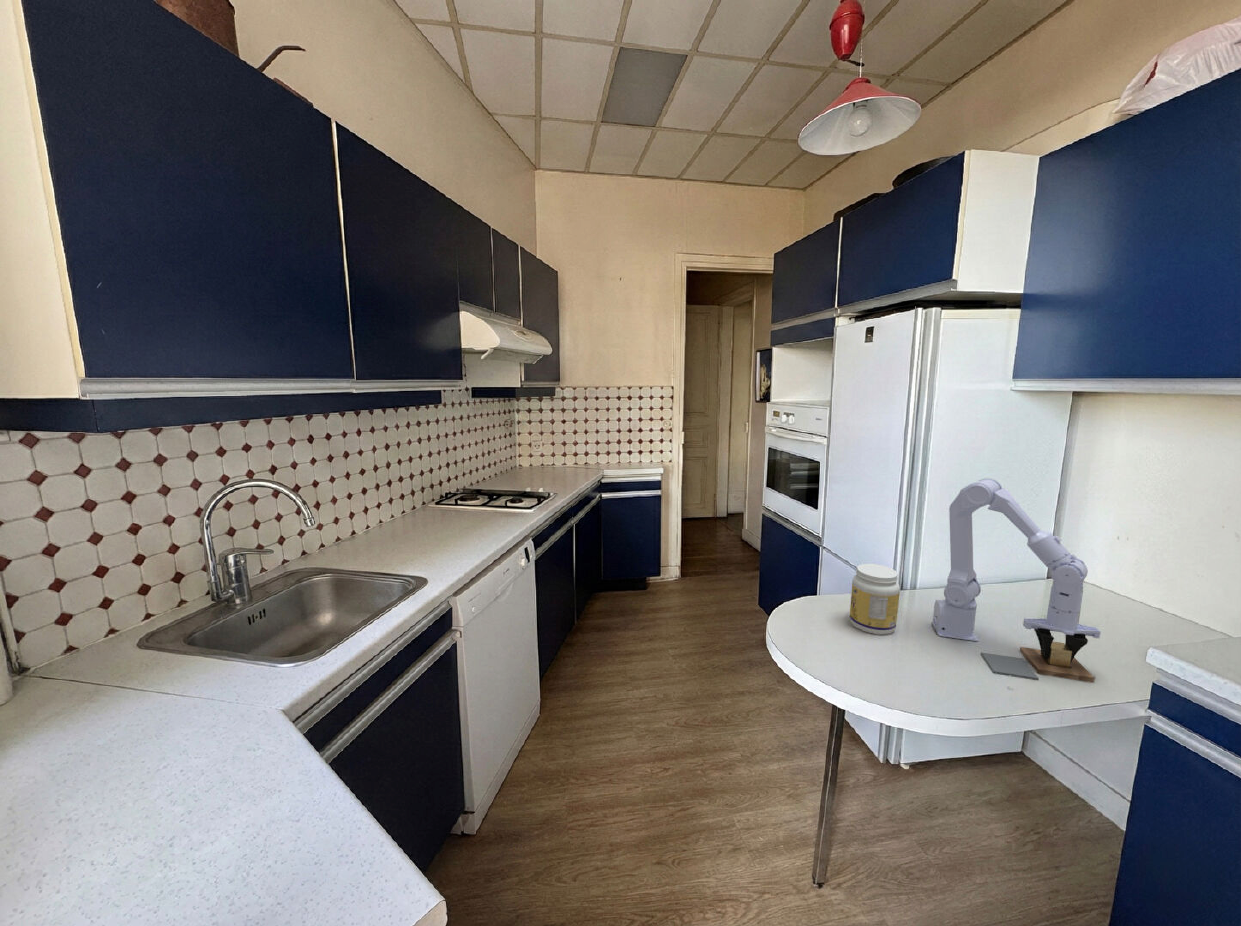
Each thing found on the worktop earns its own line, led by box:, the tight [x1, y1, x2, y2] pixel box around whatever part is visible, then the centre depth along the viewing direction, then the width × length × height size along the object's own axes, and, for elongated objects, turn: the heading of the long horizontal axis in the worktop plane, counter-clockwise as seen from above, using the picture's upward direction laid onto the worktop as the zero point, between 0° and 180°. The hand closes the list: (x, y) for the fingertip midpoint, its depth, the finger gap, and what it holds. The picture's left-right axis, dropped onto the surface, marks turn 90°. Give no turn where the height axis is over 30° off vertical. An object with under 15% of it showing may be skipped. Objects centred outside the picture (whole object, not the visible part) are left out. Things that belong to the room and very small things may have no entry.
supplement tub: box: [849, 563, 901, 635], centre depth 143 cm, size 12×12×17 cm
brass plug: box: [1042, 641, 1072, 668], centre depth 123 cm, size 4×4×6 cm
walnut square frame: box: [1019, 646, 1096, 683], centre depth 124 cm, size 11×11×1 cm
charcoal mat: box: [980, 651, 1039, 681], centre depth 123 cm, size 9×9×1 cm
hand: (1055, 658), depth 123 cm, fingers closed on brass plug, 4 cm apart
